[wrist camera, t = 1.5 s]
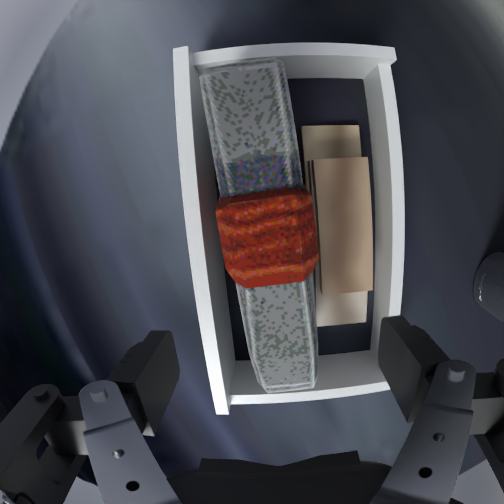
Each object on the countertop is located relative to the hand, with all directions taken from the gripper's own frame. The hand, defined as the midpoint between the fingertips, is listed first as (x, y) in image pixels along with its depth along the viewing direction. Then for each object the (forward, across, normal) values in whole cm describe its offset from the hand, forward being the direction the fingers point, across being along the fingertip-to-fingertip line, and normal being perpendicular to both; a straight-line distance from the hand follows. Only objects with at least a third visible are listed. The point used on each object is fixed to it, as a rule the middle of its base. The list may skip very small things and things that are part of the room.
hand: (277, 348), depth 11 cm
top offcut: (+25, -8, 0) cm, 26 cm away
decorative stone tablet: (+28, 0, 0) cm, 28 cm away
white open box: (+28, -3, 0) cm, 28 cm away
